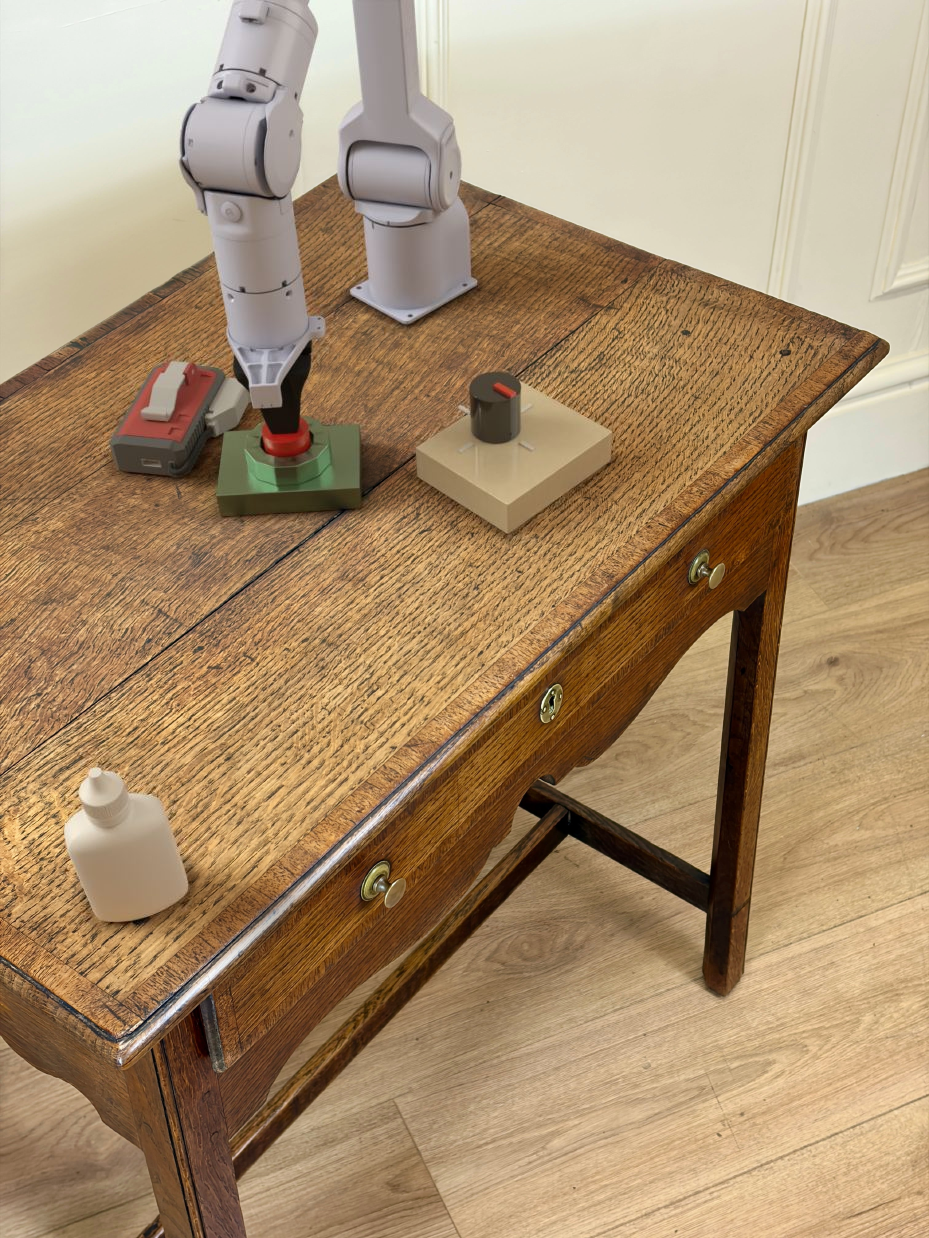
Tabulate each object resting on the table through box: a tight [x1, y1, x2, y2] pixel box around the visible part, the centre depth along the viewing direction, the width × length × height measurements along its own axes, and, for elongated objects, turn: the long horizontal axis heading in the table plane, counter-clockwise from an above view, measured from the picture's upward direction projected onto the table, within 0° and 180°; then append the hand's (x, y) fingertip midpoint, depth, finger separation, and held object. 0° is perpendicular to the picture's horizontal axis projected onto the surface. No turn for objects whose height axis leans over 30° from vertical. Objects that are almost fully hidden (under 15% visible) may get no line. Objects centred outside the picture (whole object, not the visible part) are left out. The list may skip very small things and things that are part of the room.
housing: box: [215, 414, 363, 517], centre depth 102 cm, size 11×8×4 cm
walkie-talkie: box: [108, 360, 252, 479], centre depth 109 cm, size 9×4×20 cm
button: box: [262, 417, 311, 458], centre depth 101 cm, size 4×4×2 cm
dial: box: [468, 371, 521, 444], centre depth 101 cm, size 4×4×4 cm
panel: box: [414, 380, 613, 535], centre depth 103 cm, size 12×11×3 cm
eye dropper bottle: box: [63, 766, 189, 923], centre depth 73 cm, size 4×6×12 cm
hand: (284, 428), depth 100 cm, fingers closed, pressing on button
